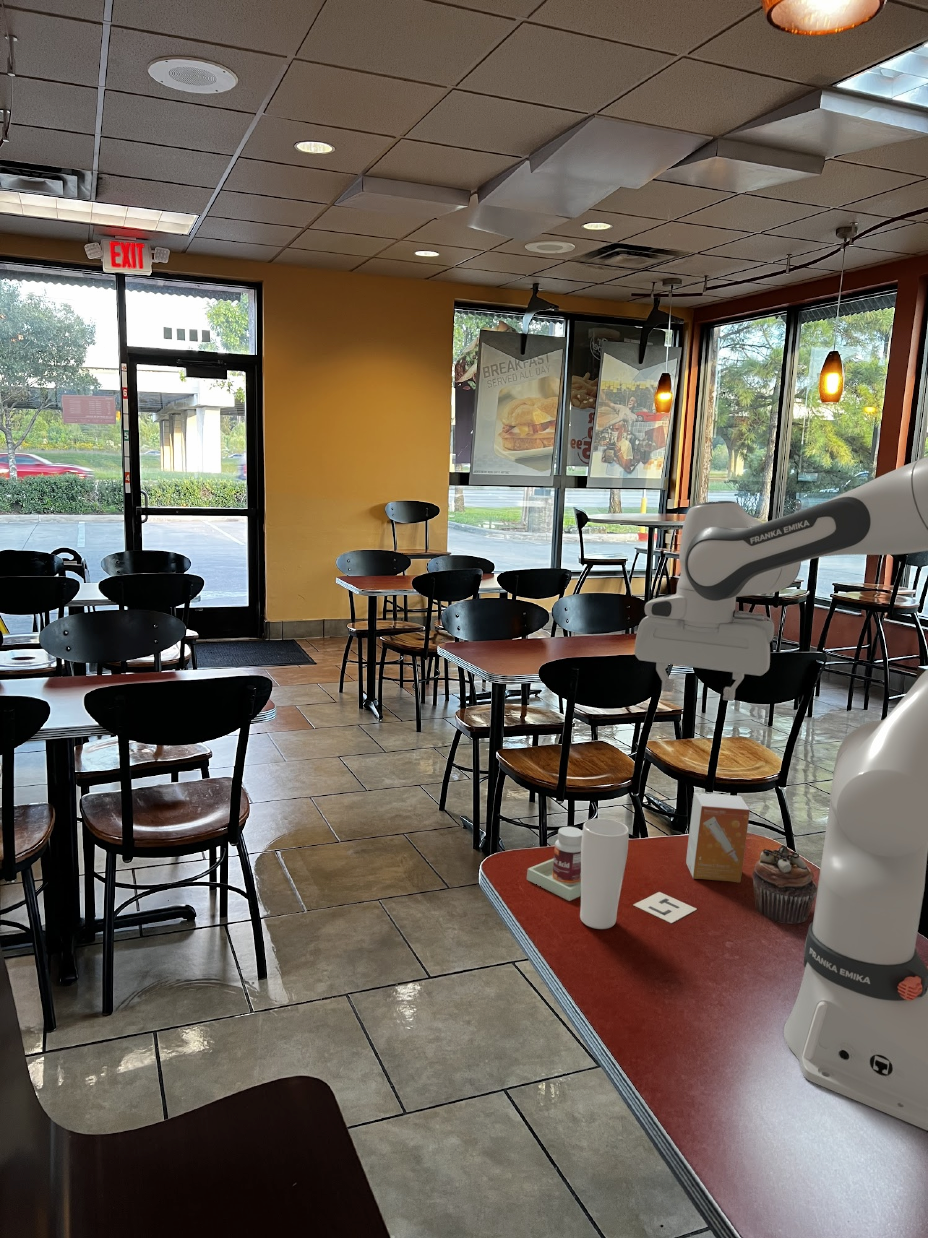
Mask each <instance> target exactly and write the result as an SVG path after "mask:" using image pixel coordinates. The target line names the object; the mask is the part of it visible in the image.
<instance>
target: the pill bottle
mask: <svg viewBox="0 0 928 1238" xmlns="http://www.w3.org/2000/svg"><path fill="white" fill-rule="evenodd" d="M582 832H583V829H582V830H581V829H579V828H578V827H574V826H563V827H559V829H558V831H557V839H556V841H555V843H554V851H553V858H554V861H553V873H552V879H553V880H555V881H557V882H559V883H561V884H563V885H566V886H575V885H577V884H579V883H580V882H581V840H582Z"/></svg>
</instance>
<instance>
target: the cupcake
mask: <svg viewBox="0 0 928 1238" xmlns="http://www.w3.org/2000/svg"><path fill="white" fill-rule="evenodd" d="M814 877H815V875H814V872H813V871H812V869H811V868H809V866H808V865H807V863H806V862H805V861H804V860H803V859H802V858H801V857H800V854H799V853H798V852H795V851H793V850H792V851H791V850H789V849H788V846H786V845H785V844H783V845H781V846H780V847H779V848H778V849H773V850H770V849H765V848H764V849H763V850H762V851H761V853H760V857H759V860H758V861H756V862H755V865H754V870H753V872H752V879H753V882H752V883H753V884H752V885H753V892H754V902H755V903H754V906H755V909H756V911H757V912H758V913H759V914H760V915H762V916H764V917H765V918H767V919H768V920H771V921H773V922H777V923H780V924H781V923H782V924H787V925H788V924H791V925H792V924H793V925H794V924H801V923H804V922H806V921H807V920H808V918H809V917H810V912H811V910H812V907H813V904H814V901H815V899H816V897H817V890H818V884H816V883H815V882H814V881H813V879H814Z"/></svg>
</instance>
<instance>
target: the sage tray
mask: <svg viewBox="0 0 928 1238" xmlns="http://www.w3.org/2000/svg"><path fill="white" fill-rule="evenodd" d="M553 861H554V857H553V858H551V859H548V860H546V861H544V862H541V863H539V864H536V865H534V866H531V867H528V868H527V870H526V871H527V873H526V880H527V881H528V882H530V883H533V884H534V885H536V884H537V885H536V886H538V887H540V886H541V887H540V888H541V889H542V888H543V889H545V890H546V891H548V892H551V893H552V894H554V895H557V896H559V897H560V898H563V899H564V900H566V901H568V902H570V901H572V900H575V899H577V898H579V897H581V882H580V883H579V884H577V885H575V886H566V885H563V884H561V883H559V882H557V881H555V880H553V879H552V873H553Z"/></svg>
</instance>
